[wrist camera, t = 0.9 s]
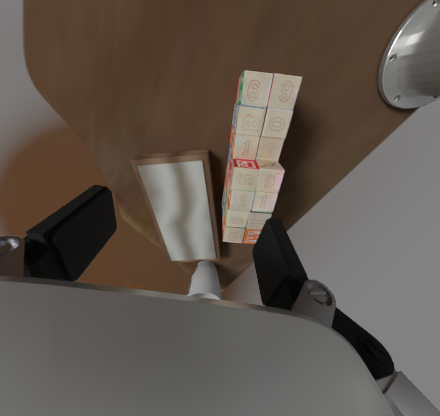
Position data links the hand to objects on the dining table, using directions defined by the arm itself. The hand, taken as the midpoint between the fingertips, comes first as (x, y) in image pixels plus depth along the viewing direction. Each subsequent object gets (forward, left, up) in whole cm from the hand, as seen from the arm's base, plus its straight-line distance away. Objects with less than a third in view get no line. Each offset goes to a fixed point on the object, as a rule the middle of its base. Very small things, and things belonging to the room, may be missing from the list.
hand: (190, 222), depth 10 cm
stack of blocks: (-6, +3, -23) cm, 24 cm away
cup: (+5, +33, -23) cm, 41 cm away
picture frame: (+7, +14, -23) cm, 28 cm away
